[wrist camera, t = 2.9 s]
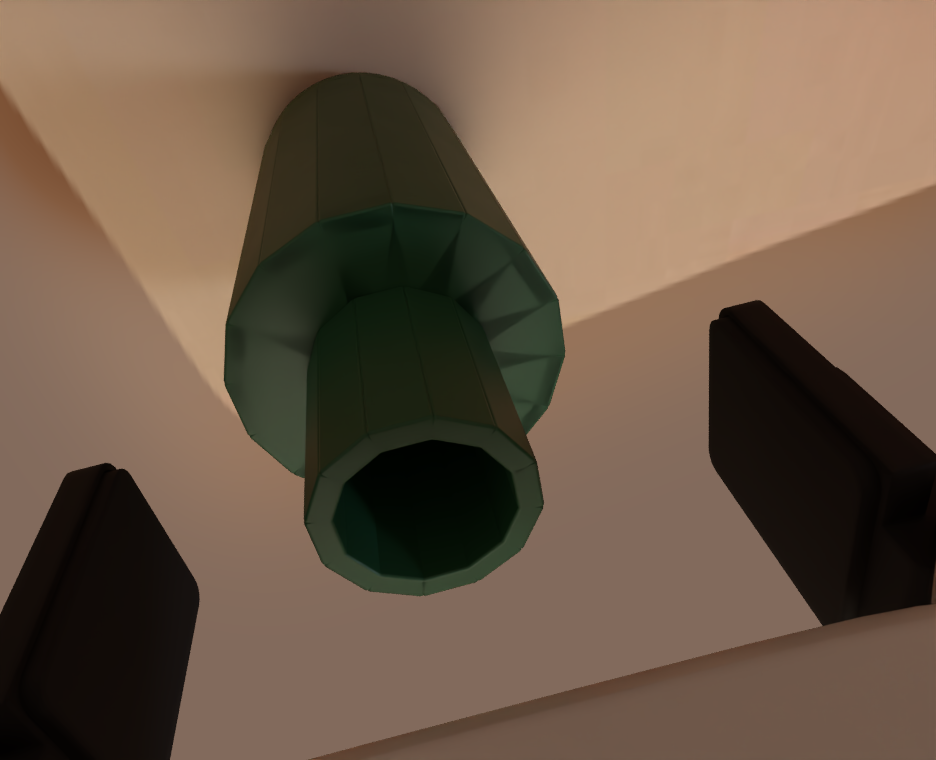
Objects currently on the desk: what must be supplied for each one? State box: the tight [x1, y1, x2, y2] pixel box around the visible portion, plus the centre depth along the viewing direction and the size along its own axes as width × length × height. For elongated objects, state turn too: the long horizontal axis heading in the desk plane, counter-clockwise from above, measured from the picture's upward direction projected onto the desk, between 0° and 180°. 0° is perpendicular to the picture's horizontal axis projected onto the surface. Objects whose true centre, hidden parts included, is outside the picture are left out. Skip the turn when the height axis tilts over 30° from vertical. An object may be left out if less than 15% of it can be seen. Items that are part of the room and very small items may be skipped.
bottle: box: [224, 73, 565, 596], centre depth 17 cm, size 6×6×16 cm
